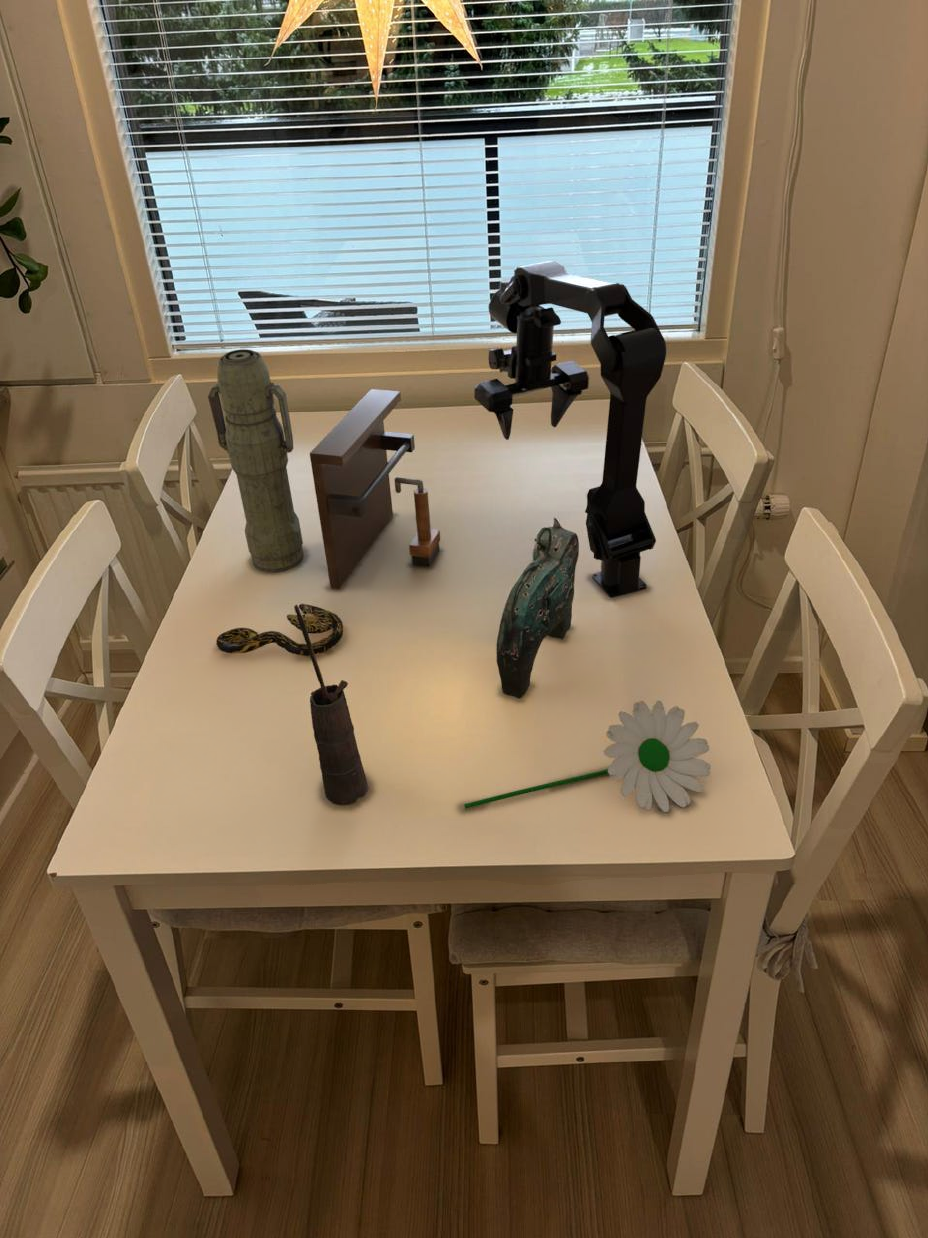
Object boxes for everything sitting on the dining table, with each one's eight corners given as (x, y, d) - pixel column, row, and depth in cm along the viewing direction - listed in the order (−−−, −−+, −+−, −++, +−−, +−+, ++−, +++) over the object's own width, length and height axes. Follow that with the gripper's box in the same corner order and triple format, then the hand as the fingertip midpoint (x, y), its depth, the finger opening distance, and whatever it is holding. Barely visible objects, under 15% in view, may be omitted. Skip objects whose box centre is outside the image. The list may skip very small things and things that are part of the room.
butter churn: (370, 746, 118) (344, 561, 101) (403, 794, 111) (381, 603, 95) (302, 774, 115) (264, 587, 98) (332, 825, 108) (296, 633, 91)
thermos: (250, 544, 159) (208, 344, 139) (317, 544, 158) (285, 343, 138) (236, 572, 152) (189, 366, 132) (306, 573, 151) (271, 365, 131)
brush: (441, 550, 155) (435, 472, 147) (430, 568, 151) (424, 489, 142) (407, 546, 157) (400, 469, 148) (396, 563, 152) (388, 485, 144)
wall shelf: (421, 518, 164) (410, 391, 150) (370, 594, 146) (353, 457, 132) (384, 514, 166) (371, 388, 152) (330, 588, 147) (309, 453, 133)
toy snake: (206, 629, 131) (232, 594, 140) (210, 656, 134) (235, 620, 142) (329, 640, 129) (347, 604, 137) (331, 668, 131) (349, 630, 140)
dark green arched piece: (547, 614, 139) (548, 497, 127) (587, 625, 137) (593, 506, 125) (488, 694, 125) (484, 570, 113) (532, 707, 123) (532, 582, 111)
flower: (450, 750, 108) (693, 685, 110) (451, 760, 113) (684, 697, 116) (480, 862, 104) (733, 792, 106) (480, 867, 109) (721, 800, 111)
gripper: (558, 314, 155) (552, 400, 165) (458, 336, 149) (459, 423, 159) (595, 340, 147) (586, 427, 158) (491, 364, 141) (490, 453, 151)
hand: (530, 432), depth 156 cm, fingers open, 9 cm apart
